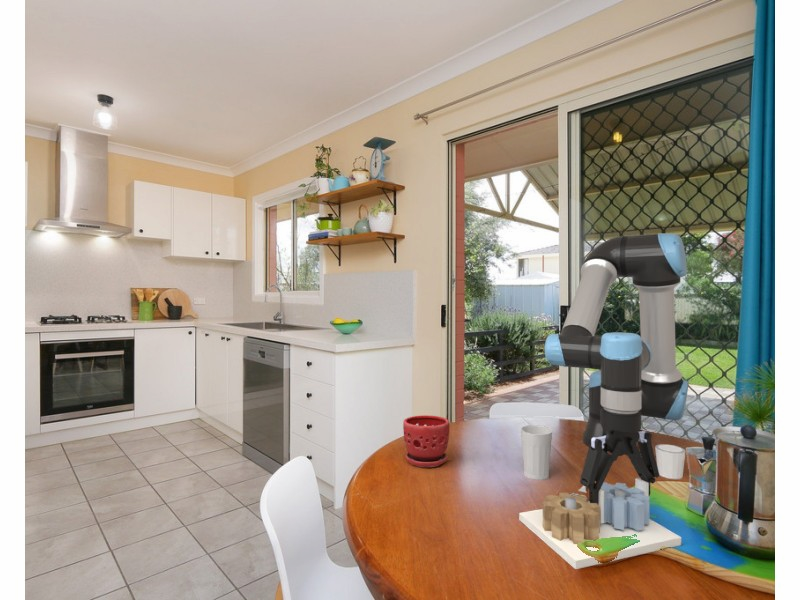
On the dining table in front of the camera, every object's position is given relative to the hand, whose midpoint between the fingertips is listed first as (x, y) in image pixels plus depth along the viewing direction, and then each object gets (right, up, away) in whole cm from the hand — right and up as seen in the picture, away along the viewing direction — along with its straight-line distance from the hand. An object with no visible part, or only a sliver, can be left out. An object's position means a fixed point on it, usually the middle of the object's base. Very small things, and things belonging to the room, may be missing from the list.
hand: (620, 515), depth 94 cm
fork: (+2, -2, +20) cm, 21 cm away
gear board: (-6, -2, -2) cm, 6 cm away
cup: (-9, -2, +26) cm, 28 cm away
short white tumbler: (+25, -2, +26) cm, 36 cm away
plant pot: (-38, -2, +36) cm, 52 cm away
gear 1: (-11, -1, -4) cm, 12 cm away
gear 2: (0, 0, 0) cm, 0 cm away
